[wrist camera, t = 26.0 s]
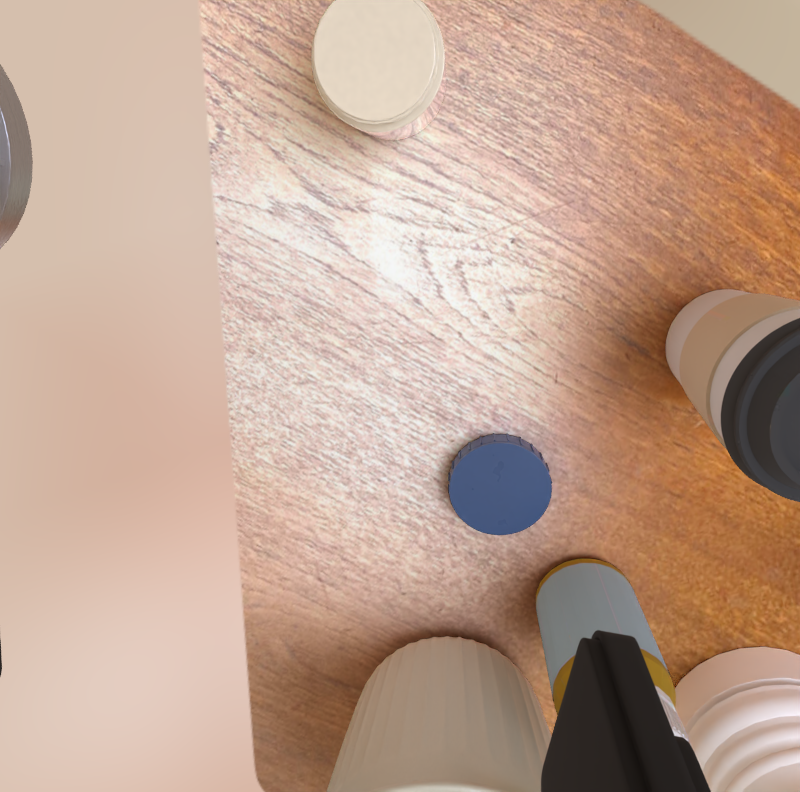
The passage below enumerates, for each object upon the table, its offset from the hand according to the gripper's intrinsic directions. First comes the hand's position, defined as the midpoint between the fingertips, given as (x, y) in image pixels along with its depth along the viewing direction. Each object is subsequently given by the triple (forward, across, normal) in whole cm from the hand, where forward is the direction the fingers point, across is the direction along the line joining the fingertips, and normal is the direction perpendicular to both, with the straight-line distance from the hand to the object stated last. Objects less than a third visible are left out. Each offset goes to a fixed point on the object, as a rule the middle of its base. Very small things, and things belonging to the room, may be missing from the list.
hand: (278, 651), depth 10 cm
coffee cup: (+34, -20, 0) cm, 40 cm away
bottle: (+34, -16, +20) cm, 43 cm away
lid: (+33, -8, +12) cm, 36 cm away
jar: (+34, +3, -12) cm, 36 cm away
